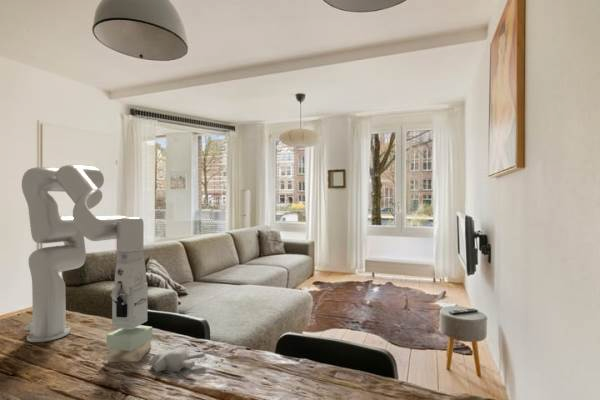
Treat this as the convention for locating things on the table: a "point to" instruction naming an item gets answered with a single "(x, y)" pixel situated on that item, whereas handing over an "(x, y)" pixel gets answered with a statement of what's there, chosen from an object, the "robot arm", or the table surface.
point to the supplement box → (132, 308)
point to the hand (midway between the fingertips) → (130, 312)
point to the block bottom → (128, 353)
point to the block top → (129, 338)
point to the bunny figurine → (174, 360)
